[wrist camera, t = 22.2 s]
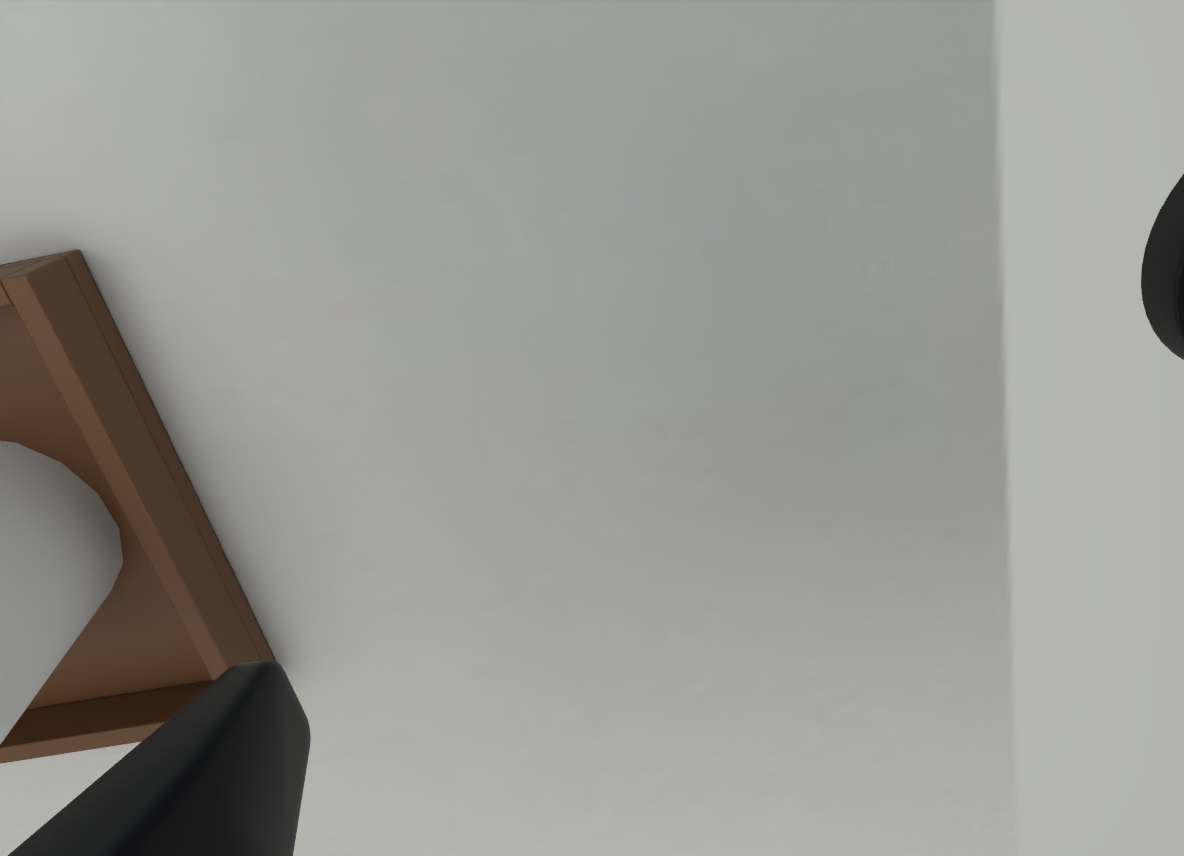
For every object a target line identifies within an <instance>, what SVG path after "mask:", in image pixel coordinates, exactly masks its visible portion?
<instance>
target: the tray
mask: <svg viewBox="0 0 1184 856" xmlns="http://www.w3.org/2000/svg"><path fill="white" fill-rule="evenodd" d="M0 441H7V442H15V443H18V444H20V445H23V446H25V447H27V448H29V449H32V450H34V451H36V452H38V453H41V454H43V455H45V456H48V457H50V458H52V459H54V460H57V461H59V462H61V463H63V464H64V465H65V466H66V467H67V468H68V469H70V470H71V471H72V472H73V473H74V474H76V475H77V476H78V477H79V478H80V479H82V480H83V481H84V482H85V483H86V484H88V485H89V486H90V487H91V488H92V489H93V490H95V491H96V492H97V493H98V494H99V496H100V498H101V499H102V501H103V503H104V504H105V506H106V508H107V509H108V511H109V513H110V514H111V516H112V518H113V519H114V521H115V522H116V524H117V526H118V527H119V532H120V540H121V548H122V556H123V565H122V567H121V569H120V572H119V574H118V576H117V579H116V581H115V583H114V586H113V588H112V590H111V592H110V593H109V595H108V596H107V597H106V599H105V600H104V601H103V603H102V604H101V606H100V607H99V608H98V610H97V611H96V612H95V614H94V615H93V617H92V618H91V619H90V621H89V622H88V624H87V625H86V626H85V628H84V629H83V630H82V632H81V633H80V635H79V636H78V637H77V639H76V640H75V642H74V643H73V644H72V646H71V647H70V649H69V650H68V651H67V653H66V654H65V655H64V657H63V658H62V660H61V661H60V662H59V664H58V665H57V667H56V668H55V669H54V671H53V672H52V674H51V675H50V676H49V678H48V679H47V680H46V682H45V683H44V685H43V686H42V687H41V689H40V690H39V692H38V693H37V694H36V696H35V697H34V699H33V700H32V701H31V703H30V704H29V705H28V707H27V708H26V710H25V711H24V712H23V714H22V715H21V717H20V718H19V719H18V721H17V722H16V723H15V725H14V726H13V728H12V729H11V730H10V732H9V733H8V735H7V736H6V737H5V739H4V740H3V742H2V743H1V744H0V763H6V762H13V761H19V760H26V759H32V758H38V757H45V756H51V755H58V754H64V753H71V752H77V751H83V750H90V749H96V748H103V747H109V746H116V745H122V744H128V743H135V742H141V741H143V740H145V739H146V738H147V737H148V736H149V735H150V734H152V733H153V732H154V731H155V730H156V729H158V728H159V727H160V726H161V725H162V724H163V723H165V722H166V721H167V720H168V719H169V718H170V717H172V716H173V715H174V714H175V713H176V712H178V711H179V710H180V709H181V708H182V707H183V706H185V705H186V704H187V703H188V702H189V701H190V700H192V699H193V698H194V697H195V696H196V695H198V694H199V693H200V692H201V691H202V690H203V689H205V688H206V687H207V686H208V685H209V684H211V683H212V682H213V681H214V680H215V679H216V678H218V677H219V676H220V675H221V674H222V673H223V672H225V671H226V670H227V669H229V668H230V667H232V666H234V665H238V664H243V663H249V662H255V661H261V660H267V659H268V660H274V661H275V659H274V657H273V655H272V653H271V651H270V649H269V647H268V645H267V643H266V641H265V639H264V636H263V634H262V632H261V630H260V628H259V626H258V624H257V622H256V620H255V618H254V615H253V613H252V611H251V609H250V607H249V605H248V603H247V601H246V599H245V597H244V595H243V592H242V590H241V588H240V586H239V584H238V582H237V580H236V578H235V576H234V574H233V572H232V569H231V567H230V565H229V563H228V561H227V559H226V557H225V555H224V553H223V551H222V549H221V546H220V544H219V542H218V540H217V538H216V536H215V534H214V532H213V530H212V528H211V526H210V523H209V521H208V519H207V517H206V515H205V513H204V511H203V509H202V507H201V505H200V502H199V500H198V498H197V496H196V494H195V492H194V490H193V488H192V486H191V484H190V482H189V479H188V477H187V475H186V473H185V471H184V469H183V467H182V465H181V463H180V461H179V459H178V456H177V454H176V452H175V450H174V448H173V446H172V444H171V442H170V440H169V438H168V436H167V433H166V431H165V429H164V427H163V425H162V423H161V421H160V419H159V417H158V415H157V412H156V410H155V408H154V406H153V404H152V402H151V400H150V398H149V396H148V394H147V392H146V389H145V387H144V385H143V383H142V381H141V379H140V377H139V375H138V373H137V371H136V369H135V366H134V364H133V362H132V360H131V358H130V356H129V354H128V352H127V350H126V348H125V346H124V343H123V341H122V339H121V337H120V335H119V333H118V331H117V329H116V327H115V325H114V323H113V320H112V318H111V316H110V314H109V312H108V310H107V308H106V306H105V304H104V302H103V299H102V297H101V295H100V293H99V291H98V289H97V287H96V285H95V283H94V281H93V279H92V276H91V274H90V272H89V270H88V268H87V266H86V264H85V262H84V260H83V258H82V256H81V253H80V252H79V250H73V251H68V252H63V253H58V254H53V255H48V256H43V257H38V258H33V259H28V260H23V261H18V262H13V263H8V264H3V265H0Z"/></svg>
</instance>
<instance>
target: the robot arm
mask: <svg viewBox="0 0 1184 856" xmlns="http://www.w3.org/2000/svg"><path fill="white" fill-rule="evenodd" d="M309 749H310V727H309V723H308V720H307V717H306V715H305V713H304V711H303V708H302V706H301V704H300V702H299V700H298V698H297V696H296V694H295V692H294V690H293V687H292V685H291V683H290V681H289V679H288V677H287V675H286V673H285V671H284V669H283V668H282V666H281V665H280V664H279V663H278V662H276V661H274V660H268V659H267V660H261V661H255V662H249V663H243V664H238V665H234V666H232V667H230V668H229V669H227V670H226V671H225V672H223V673H222V674H221V675H220V676H219V677H218V678H216V679H215V680H214V681H213V682H212V683H211V684H209V685H208V686H207V687H206V688H205V689H203V690H202V691H201V692H200V693H199V694H198V695H196V696H195V697H194V698H193V699H192V700H190V701H189V702H188V703H187V704H186V705H185V706H183V707H182V708H181V709H180V710H179V711H178V712H176V713H175V714H174V715H173V716H172V717H170V718H169V719H168V720H167V721H166V722H165V723H163V724H162V725H161V726H160V727H159V728H158V729H156V730H155V731H154V732H153V733H152V734H150V735H149V736H148V737H147V738H146V739H145V740H143V741H142V742H141V743H140V744H139V745H137V746H136V747H135V748H134V749H133V750H132V751H130V752H129V753H128V754H127V755H126V756H125V757H123V758H122V759H121V760H120V761H119V762H117V763H116V764H115V765H114V766H113V767H112V768H110V769H109V770H108V771H107V772H106V773H105V774H103V775H102V776H101V777H100V778H99V779H97V780H96V781H95V782H94V783H93V784H92V785H90V786H89V787H88V788H87V789H86V790H84V791H83V792H82V793H81V794H80V795H79V796H77V797H76V798H75V799H74V800H73V801H72V802H70V803H69V804H68V805H67V806H66V807H64V808H63V809H62V810H61V811H60V812H59V813H57V814H56V815H55V816H54V817H53V818H51V819H50V820H49V821H48V822H47V823H46V824H44V825H43V826H42V827H41V828H40V829H39V830H37V831H36V832H35V833H34V834H33V835H31V836H30V837H29V838H28V839H27V840H26V841H24V842H23V843H22V844H21V845H20V846H19V847H17V848H16V849H15V850H14V851H13V852H11V853H10V854H9V855H8V856H293V851H294V845H295V839H296V832H297V826H298V819H299V813H300V807H301V800H302V794H303V787H304V781H305V775H306V768H307V762H308V755H309Z"/></svg>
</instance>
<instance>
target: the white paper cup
mask: <svg viewBox="0 0 1184 856" xmlns="http://www.w3.org/2000/svg"><path fill="white" fill-rule="evenodd" d="M122 565H123V556H122V548H121V540H120V532H119V527H118V526H117V524H116V522H115V521H114V519H113V518H112V516H111V514H110V513H109V511H108V509H107V508H106V506H105V504H104V503H103V501H102V499H101V498H100V496H99V494H98V493H97V492H96V491H95V490H93V489H92V488H91V487H90V486H89V485H88V484H86V483H85V482H84V481H83V480H82V479H80V478H79V477H78V476H77V475H76V474H74V473H73V472H72V471H71V470H70V469H68V468H67V467H66V466H65V465H64V464H63V463H61V462H59V461H57V460H54V459H52V458H50V457H48V456H45V455H43V454H41V453H38V452H36V451H34V450H32V449H29V448H27V447H25V446H23V445H20V444H18V443H15V442H7V441H0V744H1V743H2V742H3V740H4V739H5V737H6V736H7V735H8V733H9V732H10V730H11V729H12V728H13V726H14V725H15V723H16V722H17V721H18V719H19V718H20V717H21V715H22V714H23V712H24V711H25V710H26V708H27V707H28V705H29V704H30V703H31V701H32V700H33V699H34V697H35V696H36V694H37V693H38V692H39V690H40V689H41V687H42V686H43V685H44V683H45V682H46V680H47V679H48V678H49V676H50V675H51V674H52V672H53V671H54V669H55V668H56V667H57V665H58V664H59V662H60V661H61V660H62V658H63V657H64V655H65V654H66V653H67V651H68V650H69V649H70V647H71V646H72V644H73V643H74V642H75V640H76V639H77V637H78V636H79V635H80V633H81V632H82V630H83V629H84V628H85V626H86V625H87V624H88V622H89V621H90V619H91V618H92V617H93V615H94V614H95V612H96V611H97V610H98V608H99V607H100V606H101V604H102V603H103V601H104V600H105V599H106V597H107V596H108V595H109V593H110V592H111V590H112V588H113V586H114V583H115V581H116V579H117V576H118V574H119V572H120V569H121V567H122Z"/></svg>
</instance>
